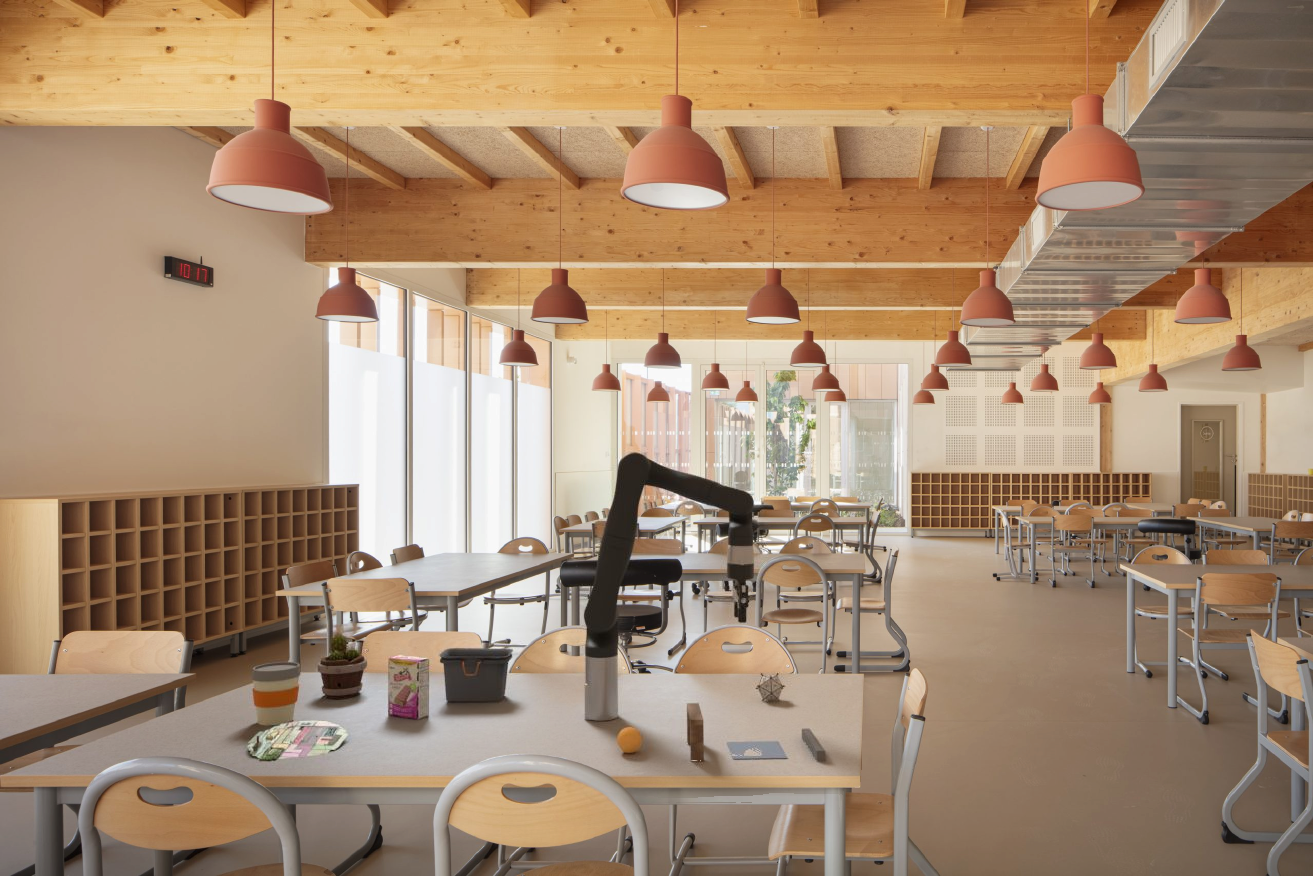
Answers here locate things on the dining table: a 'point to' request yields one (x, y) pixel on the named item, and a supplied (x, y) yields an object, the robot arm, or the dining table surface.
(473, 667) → the storage bin
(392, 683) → the candy bar box
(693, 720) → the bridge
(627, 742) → the ball
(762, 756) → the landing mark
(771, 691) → the game die
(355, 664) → the flowerpot
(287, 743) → the city model
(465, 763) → the dining table surface
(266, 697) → the reusable coffee cup
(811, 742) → the stopper
